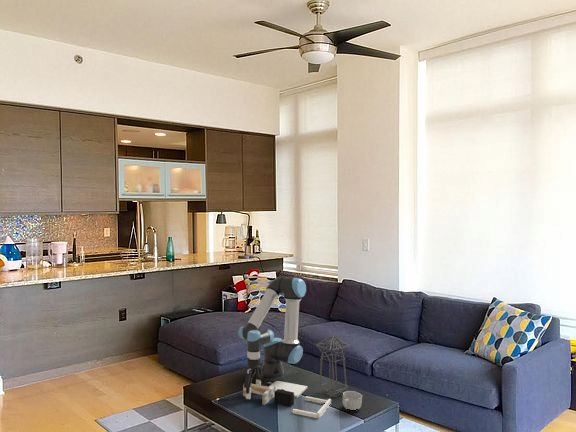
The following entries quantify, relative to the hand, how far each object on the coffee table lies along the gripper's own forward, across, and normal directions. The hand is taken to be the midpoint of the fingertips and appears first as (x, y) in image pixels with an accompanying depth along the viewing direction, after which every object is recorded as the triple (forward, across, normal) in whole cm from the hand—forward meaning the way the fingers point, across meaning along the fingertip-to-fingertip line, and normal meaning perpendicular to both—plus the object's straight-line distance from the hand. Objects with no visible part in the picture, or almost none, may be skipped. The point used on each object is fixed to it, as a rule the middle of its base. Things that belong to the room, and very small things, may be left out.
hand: (253, 394), depth 281 cm
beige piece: (+1, 0, +2) cm, 2 cm away
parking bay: (+1, 0, +36) cm, 36 cm away
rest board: (+1, -18, +13) cm, 22 cm away
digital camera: (+2, 0, +20) cm, 20 cm away
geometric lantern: (+1, -24, +40) cm, 47 cm away
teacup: (+2, -8, +56) cm, 57 cm away
